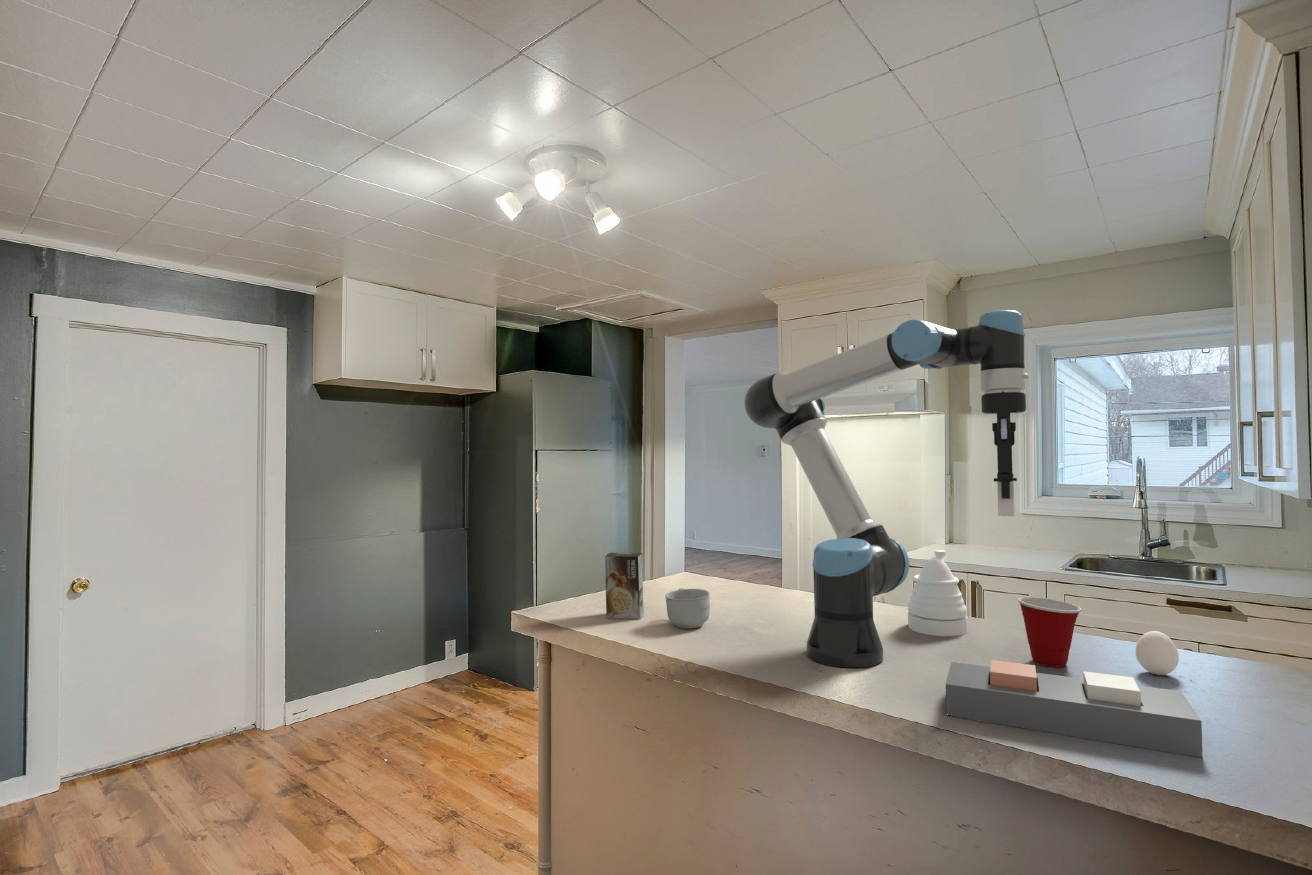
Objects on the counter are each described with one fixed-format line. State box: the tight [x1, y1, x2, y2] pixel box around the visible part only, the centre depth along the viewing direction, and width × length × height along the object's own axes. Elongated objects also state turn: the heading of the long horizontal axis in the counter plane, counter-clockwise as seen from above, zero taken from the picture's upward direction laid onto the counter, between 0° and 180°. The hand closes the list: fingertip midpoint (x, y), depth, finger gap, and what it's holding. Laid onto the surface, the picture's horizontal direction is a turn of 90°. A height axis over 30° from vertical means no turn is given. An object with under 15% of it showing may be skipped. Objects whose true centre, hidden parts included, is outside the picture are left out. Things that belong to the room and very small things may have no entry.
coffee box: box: [604, 552, 645, 620], centre depth 170 cm, size 9×6×16 cm
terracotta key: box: [989, 659, 1037, 692], centre depth 105 cm, size 6×6×4 cm
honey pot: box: [907, 549, 969, 637], centre depth 154 cm, size 13×13×18 cm
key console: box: [945, 661, 1204, 758], centre depth 102 cm, size 32×12×5 cm, turn 62°
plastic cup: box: [1017, 596, 1082, 668], centre depth 128 cm, size 11×11×12 cm
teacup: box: [664, 587, 711, 630], centre depth 161 cm, size 14×11×8 cm
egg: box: [1135, 630, 1180, 676], centre depth 121 cm, size 6×6×8 cm
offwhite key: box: [1082, 671, 1141, 706], centre depth 99 cm, size 6×6×4 cm
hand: (1006, 515), depth 125 cm, fingers closed
